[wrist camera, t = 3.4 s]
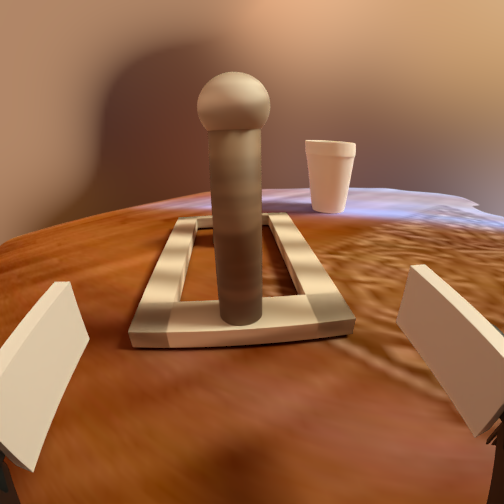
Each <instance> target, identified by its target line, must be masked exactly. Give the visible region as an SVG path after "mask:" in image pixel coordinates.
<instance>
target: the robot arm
mask: <svg viewBox="0 0 504 504" xmlns="http://www.w3.org/2000/svg"><path fill="white" fill-rule="evenodd" d="M396 323H397V325H398V326H399V327H400V329H401V330H402V331H403V333H404V334H405V335H406V337H407V338H408V339H409V341H410V342H411V343H412V345H413V346H414V347H415V349H416V350H417V352H418V353H419V354H420V356H421V357H422V358H423V360H424V361H425V363H426V364H427V366H428V367H429V368H430V370H431V371H432V373H433V374H434V376H435V377H436V378H437V380H438V381H439V383H440V384H441V386H442V387H443V389H444V390H445V392H446V393H447V395H448V396H449V398H450V399H451V401H452V402H453V404H454V405H455V407H456V408H457V410H458V412H459V413H460V415H461V416H462V418H463V419H464V421H465V423H466V424H467V426H468V428H469V429H470V431H471V432H472V434H473V436H474V437H475V438H476V437H477V436H479V435H481V434H482V433H484V432H486V431H487V430H489V429H490V428H491V427H492V426H493V424H494V423H495V422H496V421H497V420H498V418H500V419H501V421H502V422H501V424H500V425H499V426H498V427H497V428H496V429H495V431H494V432H493V433H492V434H491V435H490V436H489V437H488V439H487V442H486V444H489V443H490V442H491V441H492V440H493V439H494V437H495V436H496V435H497V438H496V439H495V440H494V441H493V443H492V445H496V452H495V460H494V468H493V474H492V480H491V485H490V490H489V495H488V500H487V504H504V334H503V333H502V332H501V331H500V330H499V329H498V328H497V327H496V326H494V325H493V324H491V323H489V322H488V321H487V320H486V319H485V318H484V317H483V316H482V315H481V314H480V313H479V312H478V311H477V310H476V309H475V308H474V307H473V306H472V305H470V304H469V303H468V302H467V301H466V300H465V299H464V298H463V297H462V296H461V295H460V294H458V293H457V292H456V291H455V290H454V289H453V288H452V287H450V286H449V285H448V284H447V283H446V282H445V281H444V280H442V279H441V278H440V277H439V276H438V275H437V274H435V273H434V272H433V271H432V270H431V269H429V268H428V267H427V266H426V265H425V264H424V265H413V266H410V270H409V274H408V278H407V282H406V286H405V290H404V294H403V298H402V302H401V306H400V309H399V313H398V316H397V320H396ZM88 341H89V336H88V334H87V331H86V328H85V326H84V323H83V320H82V317H81V314H80V312H79V309H78V306H77V303H76V300H75V297H74V293H73V290H72V287H71V284H70V282H54V283H53V285H52V286H51V287H50V288H49V289H48V290H47V291H46V293H45V294H44V295H43V296H42V297H41V298H40V299H39V301H38V302H37V303H36V304H35V305H34V307H33V308H32V309H31V310H30V311H29V313H28V314H27V315H26V316H25V318H24V319H23V320H22V321H21V323H20V324H19V325H18V326H17V328H16V329H15V330H14V331H13V333H12V334H11V335H10V337H9V338H8V339H7V341H6V342H5V343H4V345H3V346H2V348H1V349H0V504H20V501H19V498H18V496H17V493H16V490H15V487H14V484H13V481H12V478H11V475H10V472H9V468H8V466H7V464H6V463H5V462H4V461H3V460H4V457H5V456H6V457H8V458H9V459H10V460H11V461H12V462H13V463H14V464H15V465H17V466H19V467H21V468H23V469H26V470H28V471H31V472H34V469H35V466H36V463H37V460H38V457H39V454H40V451H41V448H42V445H43V443H44V440H45V437H46V435H47V432H48V430H49V427H50V424H51V422H52V419H53V417H54V415H55V412H56V410H57V407H58V405H59V403H60V400H61V398H62V396H63V394H64V391H65V389H66V387H67V385H68V382H69V380H70V378H71V376H72V374H73V372H74V370H75V368H76V365H77V363H78V361H79V359H80V357H81V355H82V353H83V351H84V349H85V347H86V345H87V343H88Z"/></svg>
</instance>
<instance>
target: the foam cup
mask: <svg viewBox="0 0 504 504" xmlns="http://www.w3.org/2000/svg"><path fill="white" fill-rule="evenodd" d="M305 147H306V149H305V153H306V154H307V162H308V171H309V180H310V192H311V202H312V209H313V210H315V211H318V212H323V213H341V212H343V211H344V208H345V204H346V199H347V194H348V189H349V184H350V177H351V173H352V167H353V161H354V156H355V154H356V144H355V143H349V142H339V141H324V140H306V141H305Z"/></svg>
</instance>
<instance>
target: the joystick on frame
mask: <svg viewBox="0 0 504 504" xmlns="http://www.w3.org/2000/svg"><path fill="white" fill-rule="evenodd" d="M197 110H198V115H199V118H200V120H201V123H202V124H203V126H204V127H205V128H206V129H207V130H208V144H209V167H210V185H211V204H212V216H197V217H181V218H179V219H178V221H177V223H176V225H175V227H174V229H173V231H172V233H171V235H170V237H169V239H168V241H167V243H166V245H165V247H164V249H163V252H162V254H161V256H160V258H159V260H158V262H157V265H156V267H155V269H154V271H153V273H152V276H151V278H150V280H149V282H148V285H147V287H146V289H145V292H144V294H143V296H142V299H141V301H140V303H139V306H138V308H137V311H136V313H135V315H134V318H133V320H132V323H131V325H130V328H129V330H128V334H129V337H130V340H131V343H132V346H133V347H153V348H176V347H216V346H236V345H252V344H265V343H277V342H288V341H298V340H307V339H316V338H324V337H332V336H339V335H346V334H352V333H353V329H354V324H355V319H356V318H355V316H354V315H353V313H352V311H351V310H350V308H349V307H348V305H347V303H346V302H345V300H344V299H343V297H342V296H341V294H340V292H339V291H338V289H337V288H336V286H335V285H334V283H333V281H332V280H331V278H330V277H329V275H328V274H327V272H326V271H325V269H324V268H323V266H322V265H321V263H320V262H319V260H318V258H317V257H316V255H315V254H314V252H313V251H312V249H311V248H310V246H309V245H308V244H307V242H306V241H305V239H304V238H303V236H302V235H301V233H300V232H299V230H298V229H297V227H296V226H295V224H294V223H293V221H292V220H291V219H290V217H289V216H288V214H287V213H286V212H283V213H262V189H261V128H262V127H263V125H264V124H265V122H266V121H267V119H268V116H269V112H270V100H269V96H268V93H267V91H266V89H265V88H264V86H263V85H262V84H261V83H260V82H259V81H258V80H257V79H256V78H254V77H252V76H251V75H248V74H245V73H241V72H227V73H223V74H220V75H218V76H216V77H214V78H213V79H211V80H210V81H209V82H208V83H207V84H206V85H205V86H204V88H203V89H202V91H201V93H200V95H199V98H198V103H197ZM267 224H269V227H270V229H271V231H272V233H273V236H274V238H275V240H276V243H277V245H278V247H279V250H280V252H281V254H282V257H283V259H284V261H285V264H286V266H287V269H288V271H289V273H290V276H291V278H292V280H293V283H294V285H295V288H296V290H297V292H298V295H293V296H280V297H265V298H262V225H267ZM206 227H213V234H214V248H215V261H216V274H217V285H218V297H219V300H212V301H188V302H180V298H181V293H182V289H183V285H184V281H185V276H186V272H187V268H188V264H189V260H190V256H191V252H192V248H193V244H194V240H195V236H196V233H197V229H198V228H206Z"/></svg>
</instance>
